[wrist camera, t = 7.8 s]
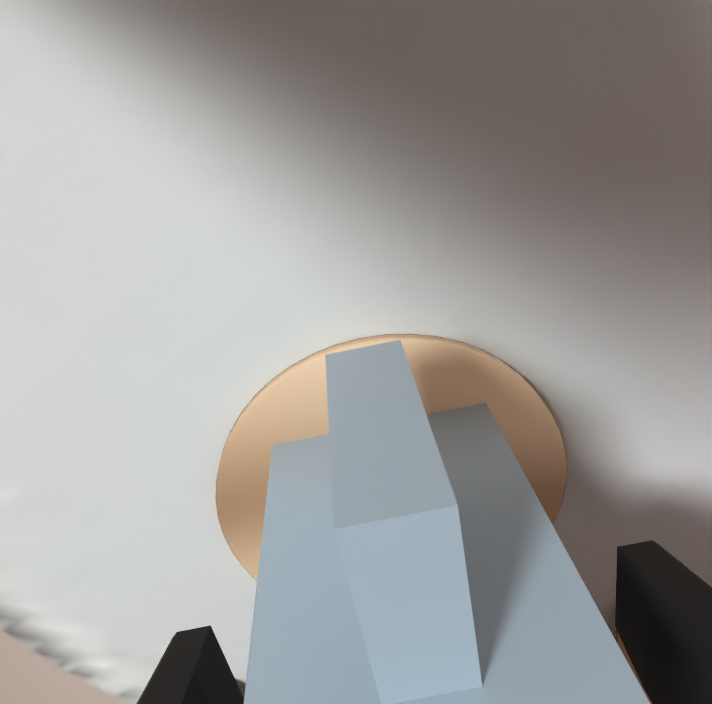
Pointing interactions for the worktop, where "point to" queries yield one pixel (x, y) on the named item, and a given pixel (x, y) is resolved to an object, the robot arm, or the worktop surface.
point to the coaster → (437, 392)
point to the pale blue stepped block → (417, 563)
